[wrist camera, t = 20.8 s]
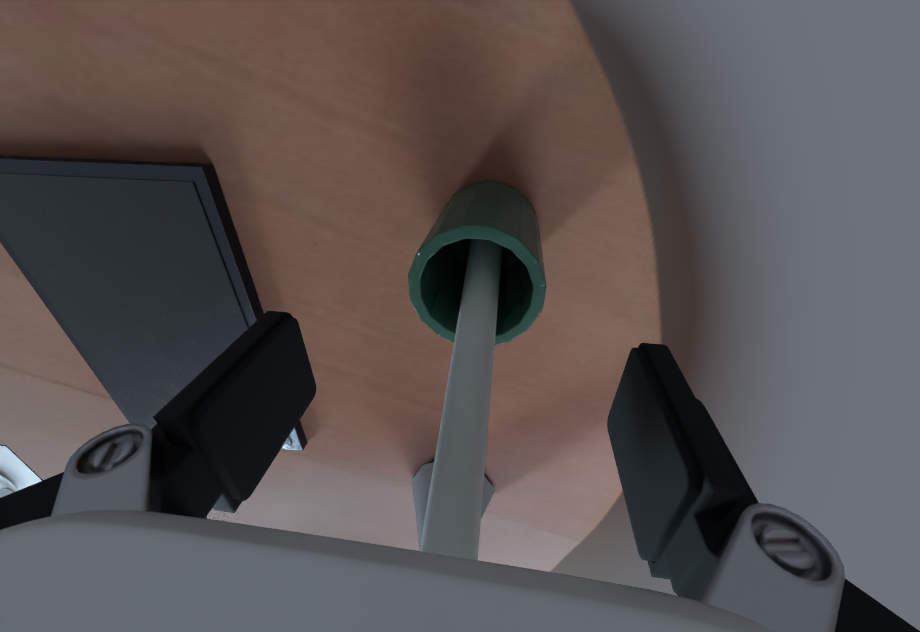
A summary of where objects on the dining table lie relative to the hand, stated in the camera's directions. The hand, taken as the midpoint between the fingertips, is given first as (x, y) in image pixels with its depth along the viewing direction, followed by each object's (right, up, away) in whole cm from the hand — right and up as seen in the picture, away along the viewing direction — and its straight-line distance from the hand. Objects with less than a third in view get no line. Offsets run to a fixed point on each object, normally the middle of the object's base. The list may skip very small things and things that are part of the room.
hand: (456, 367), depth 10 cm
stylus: (+2, +6, +9) cm, 11 cm away
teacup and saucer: (-62, -21, +38) cm, 76 cm away
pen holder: (+2, +6, +10) cm, 12 cm away
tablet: (-22, +1, +17) cm, 28 cm away
